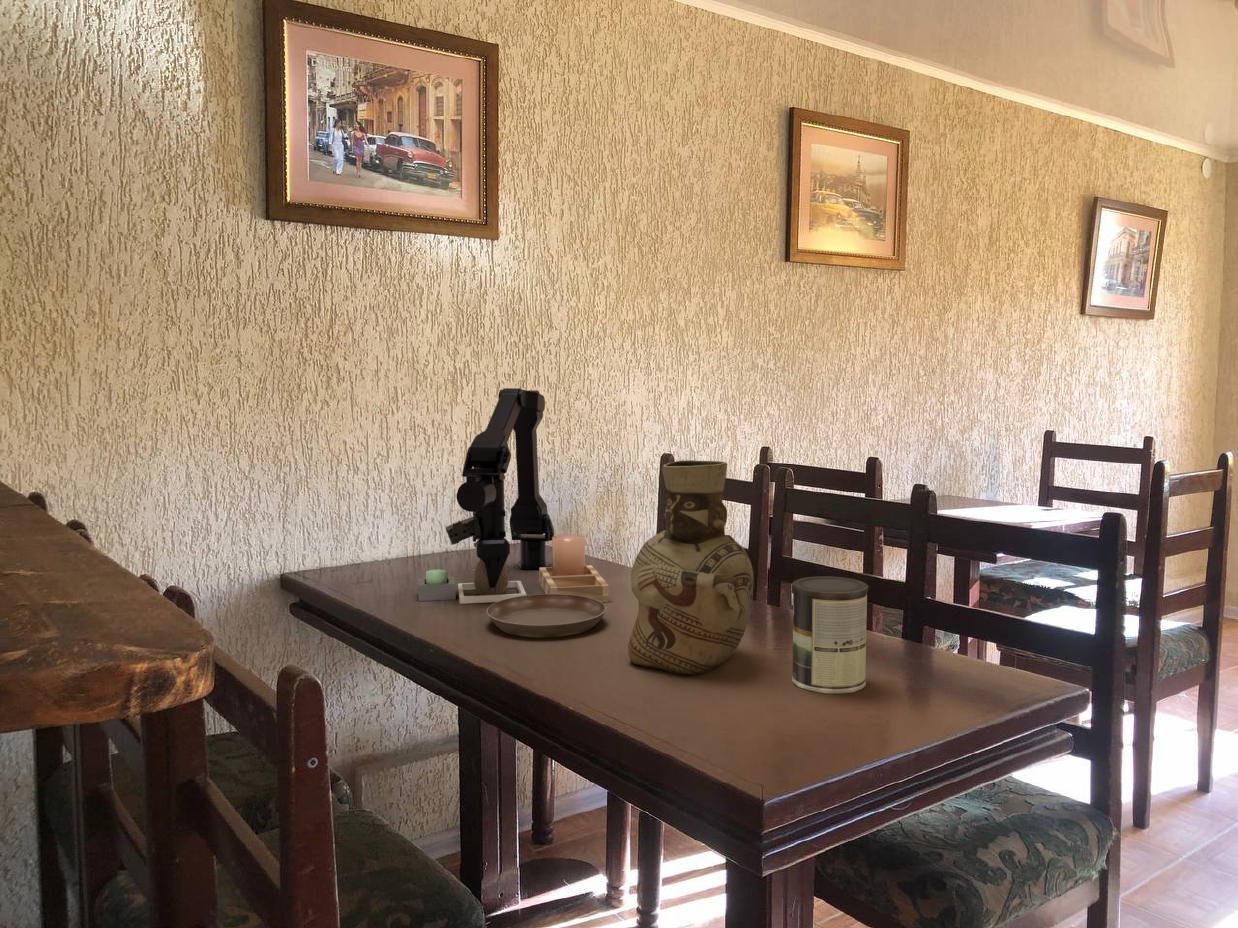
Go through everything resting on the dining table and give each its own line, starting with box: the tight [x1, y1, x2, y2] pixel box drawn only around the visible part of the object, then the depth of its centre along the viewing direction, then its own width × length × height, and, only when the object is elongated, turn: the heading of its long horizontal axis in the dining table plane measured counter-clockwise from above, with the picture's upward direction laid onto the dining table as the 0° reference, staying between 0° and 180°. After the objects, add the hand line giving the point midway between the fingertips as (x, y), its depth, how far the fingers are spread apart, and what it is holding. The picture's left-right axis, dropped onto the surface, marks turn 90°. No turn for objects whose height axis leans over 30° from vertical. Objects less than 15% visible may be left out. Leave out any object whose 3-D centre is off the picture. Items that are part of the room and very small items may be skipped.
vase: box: [472, 558, 510, 596], centre depth 193 cm, size 7×7×9 cm
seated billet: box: [551, 533, 586, 576], centre depth 200 cm, size 7×7×9 cm
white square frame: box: [457, 580, 527, 605], centre depth 194 cm, size 13×13×1 cm
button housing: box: [417, 576, 457, 602], centre depth 193 cm, size 7×7×3 cm
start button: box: [425, 568, 448, 584], centre depth 192 cm, size 4×4×4 cm
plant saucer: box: [486, 593, 607, 638], centre depth 171 cm, size 21×21×3 cm
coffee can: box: [791, 575, 869, 695], centre depth 138 cm, size 10×10×14 cm
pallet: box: [538, 564, 610, 603], centre depth 196 cm, size 20×11×3 cm, turn 11°
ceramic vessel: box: [627, 459, 754, 676], centre depth 148 cm, size 19×21×30 cm
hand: (491, 583), depth 194 cm, fingers open, 7 cm apart
